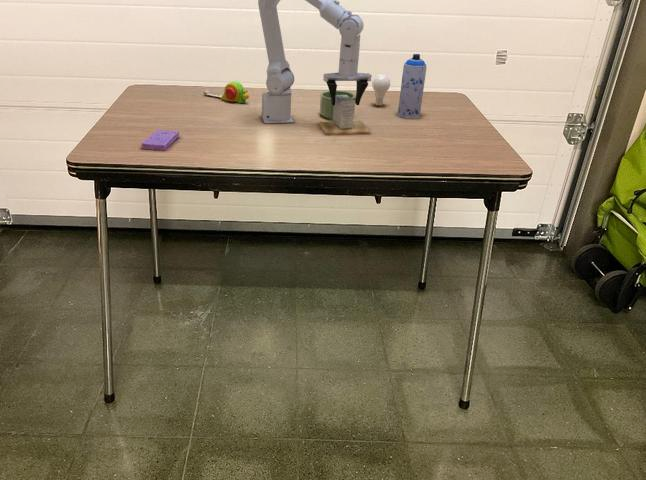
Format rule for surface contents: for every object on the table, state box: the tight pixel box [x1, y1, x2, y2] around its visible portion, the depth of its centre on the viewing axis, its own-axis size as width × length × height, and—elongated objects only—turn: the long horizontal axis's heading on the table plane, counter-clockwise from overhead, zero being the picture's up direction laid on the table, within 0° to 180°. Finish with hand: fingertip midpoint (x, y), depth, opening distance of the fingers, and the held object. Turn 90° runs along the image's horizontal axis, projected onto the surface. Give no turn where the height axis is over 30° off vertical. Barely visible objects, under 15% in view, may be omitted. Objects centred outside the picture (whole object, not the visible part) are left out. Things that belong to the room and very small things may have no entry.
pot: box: [319, 90, 356, 121], centre depth 204 cm, size 11×11×7 cm
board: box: [318, 120, 371, 136], centre depth 193 cm, size 14×11×1 cm
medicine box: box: [331, 95, 356, 129], centre depth 192 cm, size 8×4×9 cm, turn 15°
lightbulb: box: [371, 73, 391, 107], centre depth 215 cm, size 6×6×11 cm
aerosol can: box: [396, 53, 427, 120], centre depth 203 cm, size 8×8×20 cm
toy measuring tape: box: [203, 80, 250, 104], centre depth 218 cm, size 6×19×7 cm, turn 57°
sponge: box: [141, 129, 180, 151], centre depth 177 cm, size 7×13×2 cm, turn 170°
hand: (345, 104), depth 190 cm, fingers open, 7 cm apart
